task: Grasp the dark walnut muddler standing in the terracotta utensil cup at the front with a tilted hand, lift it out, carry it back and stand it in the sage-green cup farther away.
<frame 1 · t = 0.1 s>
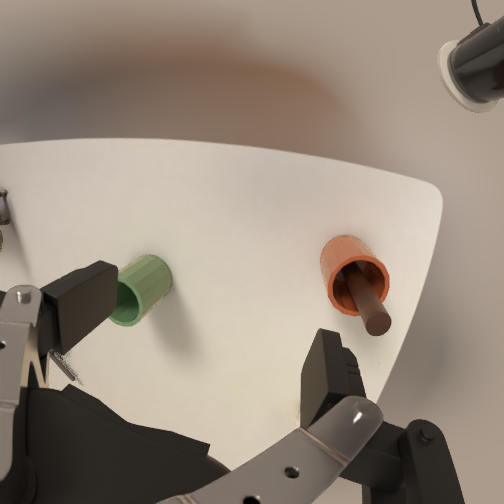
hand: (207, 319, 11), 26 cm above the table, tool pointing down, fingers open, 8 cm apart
rhinoceros figurine: (2, 207, 42), on the table
green cup: (151, 276, 40), on the table
muddler: (345, 261, 35), point 1 cm above the table, touching terracotta cup
terracotta cup: (344, 260, 36), on the table
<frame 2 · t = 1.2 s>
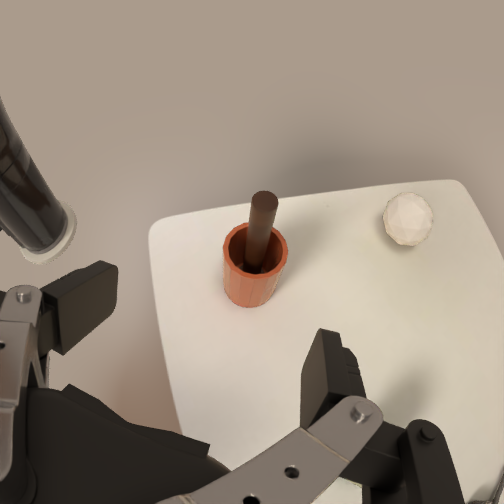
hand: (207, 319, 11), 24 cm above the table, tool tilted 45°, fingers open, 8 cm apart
geometric ball: (396, 232, 43), on the table
muddler: (249, 281, 36), point 1 cm above the table, touching terracotta cup
terracotta cup: (249, 283, 37), on the table
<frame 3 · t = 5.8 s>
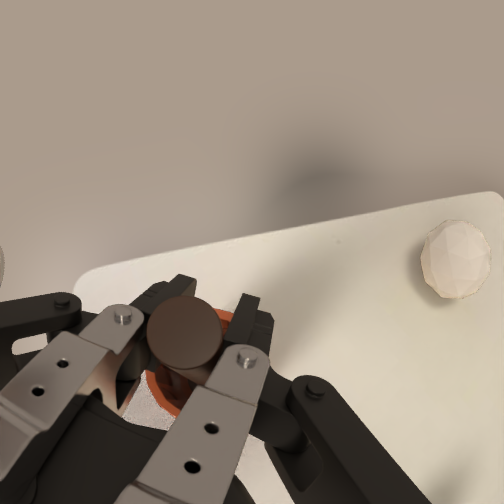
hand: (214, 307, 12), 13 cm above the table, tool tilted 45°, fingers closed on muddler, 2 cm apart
geometric ball: (435, 276, 28), on the table
muddler: (214, 378, 21), point 1 cm above the table, touching gripper
terracotta cup: (214, 379, 22), on the table
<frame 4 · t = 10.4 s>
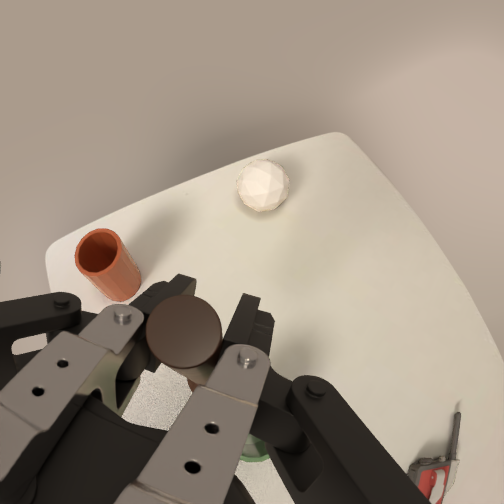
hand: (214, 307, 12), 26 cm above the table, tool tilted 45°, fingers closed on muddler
geometric ball: (260, 200, 47), on the table
green cup: (248, 423, 32), on the table
muddler: (213, 378, 21), point 15 cm above the table, touching gripper
walkie-talkie: (427, 474, 28), on the table
terracotta cup: (120, 280, 39), on the table
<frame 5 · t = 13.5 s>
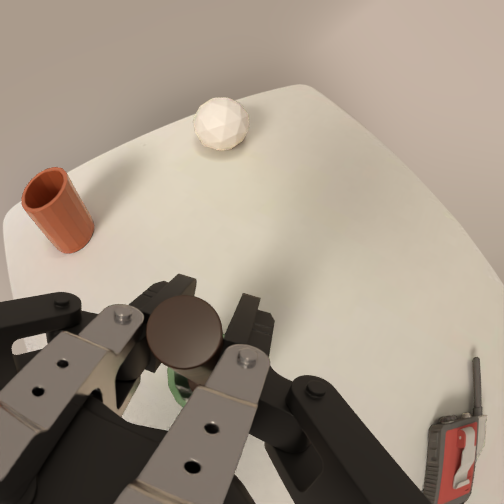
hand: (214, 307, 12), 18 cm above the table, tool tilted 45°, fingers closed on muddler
geometric ball: (221, 144, 43), on the table
green cup: (217, 382, 27), on the table
muddler: (214, 378, 21), point 7 cm above the table, touching gripper
walkie-talkie: (451, 438, 24), on the table
terracotta cup: (73, 232, 34), on the table
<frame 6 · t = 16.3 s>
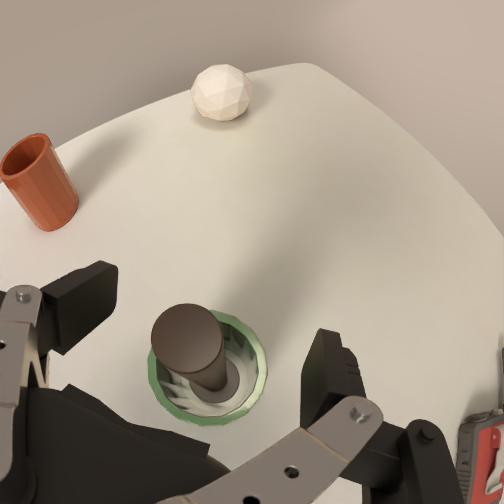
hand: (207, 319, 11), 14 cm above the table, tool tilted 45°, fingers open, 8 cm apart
geometric ball: (221, 116, 38), on the table
green cup: (214, 379, 22), on the table
muddler: (214, 379, 22), point 1 cm above the table, touching green cup
walkie-talkie: (481, 438, 19), on the table
terracotta cup: (56, 208, 29), on the table
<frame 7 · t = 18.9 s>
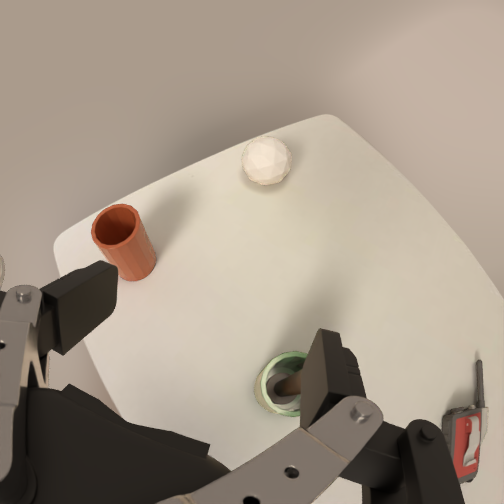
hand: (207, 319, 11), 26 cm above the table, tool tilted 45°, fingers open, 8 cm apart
geometric ball: (264, 177, 49), on the table
green cup: (280, 388, 33), on the table
muddler: (281, 389, 33), point 1 cm above the table, touching green cup
walkie-talkie: (460, 426, 30), on the table
terracotta cup: (135, 260, 40), on the table
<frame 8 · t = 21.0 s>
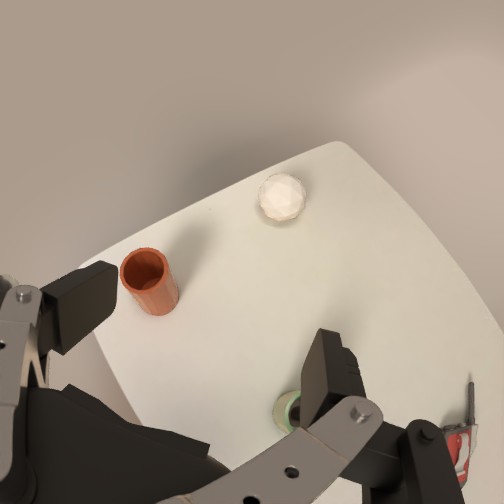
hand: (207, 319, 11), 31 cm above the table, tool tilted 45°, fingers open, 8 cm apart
geometric ball: (278, 211, 52), on the table
green cup: (295, 412, 36), on the table
muddler: (296, 413, 36), point 1 cm above the table, touching green cup
walkie-talkie: (452, 440, 33), on the table
terracotta cup: (158, 295, 43), on the table
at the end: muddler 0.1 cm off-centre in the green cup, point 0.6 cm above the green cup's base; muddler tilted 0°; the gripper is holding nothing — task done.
